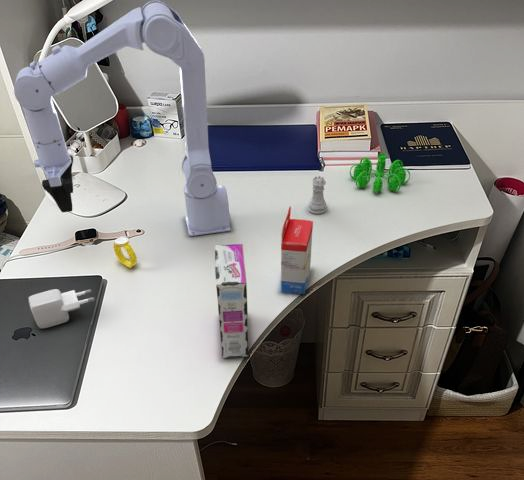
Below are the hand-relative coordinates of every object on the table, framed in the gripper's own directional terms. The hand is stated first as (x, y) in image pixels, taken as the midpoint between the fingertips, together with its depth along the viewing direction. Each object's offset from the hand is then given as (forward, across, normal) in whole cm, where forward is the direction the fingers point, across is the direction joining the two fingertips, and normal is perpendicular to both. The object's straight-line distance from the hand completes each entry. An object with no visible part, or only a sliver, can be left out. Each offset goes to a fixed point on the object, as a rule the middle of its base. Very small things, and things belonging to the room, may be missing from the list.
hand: (67, 201), depth 112 cm
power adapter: (+10, +25, -2) cm, 27 cm away
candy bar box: (+10, +38, +28) cm, 48 cm away
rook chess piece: (+10, 0, +55) cm, 56 cm away
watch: (+10, +11, +10) cm, 18 cm away
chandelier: (+10, -9, +74) cm, 75 cm away
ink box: (+10, +25, +43) cm, 51 cm away
